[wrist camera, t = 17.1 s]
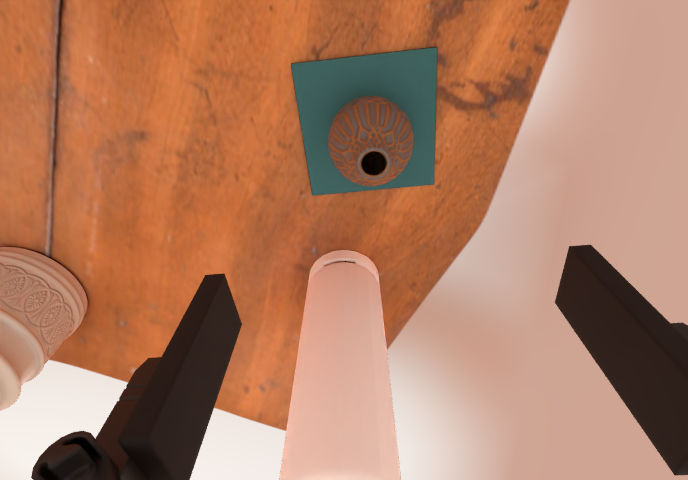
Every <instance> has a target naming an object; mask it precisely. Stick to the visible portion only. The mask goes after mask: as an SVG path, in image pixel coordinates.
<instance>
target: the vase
mask: <svg viewBox="0 0 688 480" xmlns="http://www.w3.org/2000/svg"><path fill="white" fill-rule="evenodd" d="M413 142H414V138H413V130H412V127H411V124H410V121H409V119H408V117H407V116H406V114H405V113H404V112H403V110H402V109H401V108H400V107H399V106H398V105H397V104H395V103H394V102H392V101H391V100H389V99H386V98H384V97H380V96H362V97H359V98H356V99H354V100H352V101H350V102H348V103H347V104H346V105H344V106H343V107H342V108H341V109H340V110H339V112H338V113H337V114H336V116H335V118H334V119H333V121H332V124H331V127H330V130H329V136H328V147H329V153H330V156H331V159H332V161H333V163H334V165H335V166H336V168H337V169H338V171H339V172H340V173H341V174H342V175H343V176H344V177H346V178H347V179H348V180H350V181H352V182H354V183H356V184H359V185H363V186H377V185H382V184H385V183H387V182H389V181H391V180H393V179H394V178H396V177H397V176H398V175H399V174H400V173H401V172H402V171H403V170H404V168H405V167H406V165H407V164H408V162H409V159H410V157H411V154H412V150H413Z"/></svg>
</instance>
